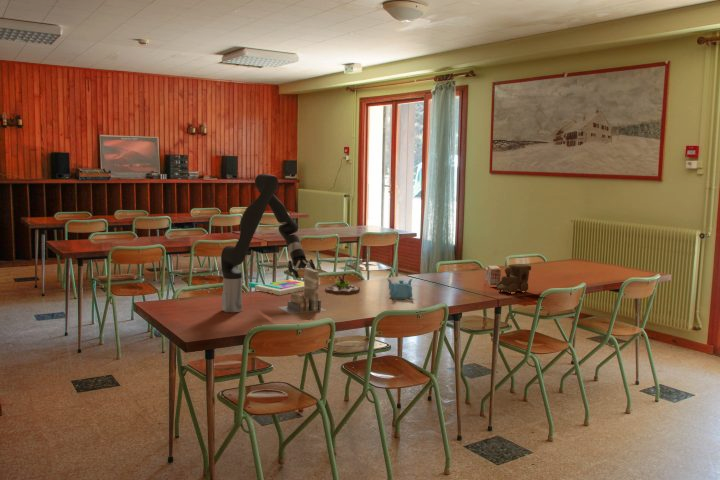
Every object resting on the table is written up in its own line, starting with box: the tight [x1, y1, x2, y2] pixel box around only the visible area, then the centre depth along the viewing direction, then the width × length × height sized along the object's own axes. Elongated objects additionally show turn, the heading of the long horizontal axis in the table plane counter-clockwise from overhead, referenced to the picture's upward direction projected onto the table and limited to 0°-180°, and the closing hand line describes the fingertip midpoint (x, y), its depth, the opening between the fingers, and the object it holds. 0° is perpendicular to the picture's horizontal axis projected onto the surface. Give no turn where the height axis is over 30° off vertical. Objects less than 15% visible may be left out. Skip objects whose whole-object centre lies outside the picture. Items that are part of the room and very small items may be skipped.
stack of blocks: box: [484, 265, 502, 286], centre depth 424 cm, size 21×6×12 cm, turn 0°
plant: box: [324, 273, 361, 296], centre depth 389 cm, size 20×20×11 cm
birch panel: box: [303, 268, 320, 310], centre depth 337 cm, size 2×12×20 cm, turn 29°
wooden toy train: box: [496, 263, 532, 293], centre depth 400 cm, size 20×11×17 cm, turn 125°
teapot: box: [386, 278, 414, 300], centre depth 376 cm, size 15×15×10 cm
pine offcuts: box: [290, 292, 309, 312], centre depth 335 cm, size 5×12×7 cm, turn 29°
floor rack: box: [278, 298, 326, 315], centre depth 336 cm, size 20×16×6 cm
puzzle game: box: [248, 278, 304, 296], centre depth 394 cm, size 30×3×30 cm
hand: (305, 277), depth 343 cm, fingers open, 8 cm apart
